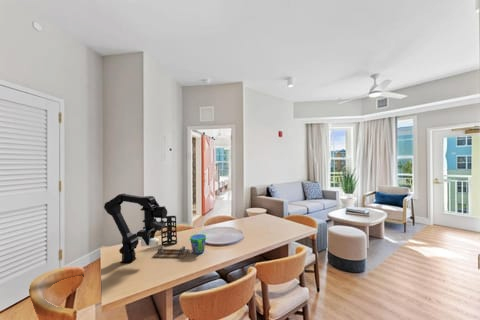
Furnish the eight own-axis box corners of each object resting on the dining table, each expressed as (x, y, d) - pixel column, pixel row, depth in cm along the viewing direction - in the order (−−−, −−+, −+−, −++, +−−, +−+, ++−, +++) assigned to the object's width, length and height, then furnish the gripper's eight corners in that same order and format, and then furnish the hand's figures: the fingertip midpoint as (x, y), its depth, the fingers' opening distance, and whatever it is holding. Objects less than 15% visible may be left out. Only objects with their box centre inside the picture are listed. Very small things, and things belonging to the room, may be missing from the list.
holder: (161, 246, 151) (160, 217, 153) (160, 243, 158) (160, 216, 160) (177, 244, 155) (176, 216, 158) (176, 241, 162) (176, 214, 164)
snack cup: (190, 248, 148) (189, 233, 148) (205, 246, 150) (205, 232, 150) (190, 258, 133) (190, 241, 133) (207, 255, 135) (207, 239, 135)
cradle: (152, 257, 134) (152, 251, 134) (160, 250, 145) (160, 244, 145) (183, 258, 133) (183, 251, 133) (189, 250, 144) (189, 244, 144)
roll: (140, 247, 127) (140, 239, 127) (144, 244, 131) (144, 237, 131) (155, 247, 126) (155, 239, 126) (159, 244, 130) (159, 237, 130)
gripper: (154, 222, 119) (155, 250, 118) (168, 213, 137) (169, 238, 137) (135, 222, 119) (136, 250, 119) (152, 213, 138) (152, 238, 138)
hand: (149, 243), depth 128 cm, fingers closed on roll, 4 cm apart
